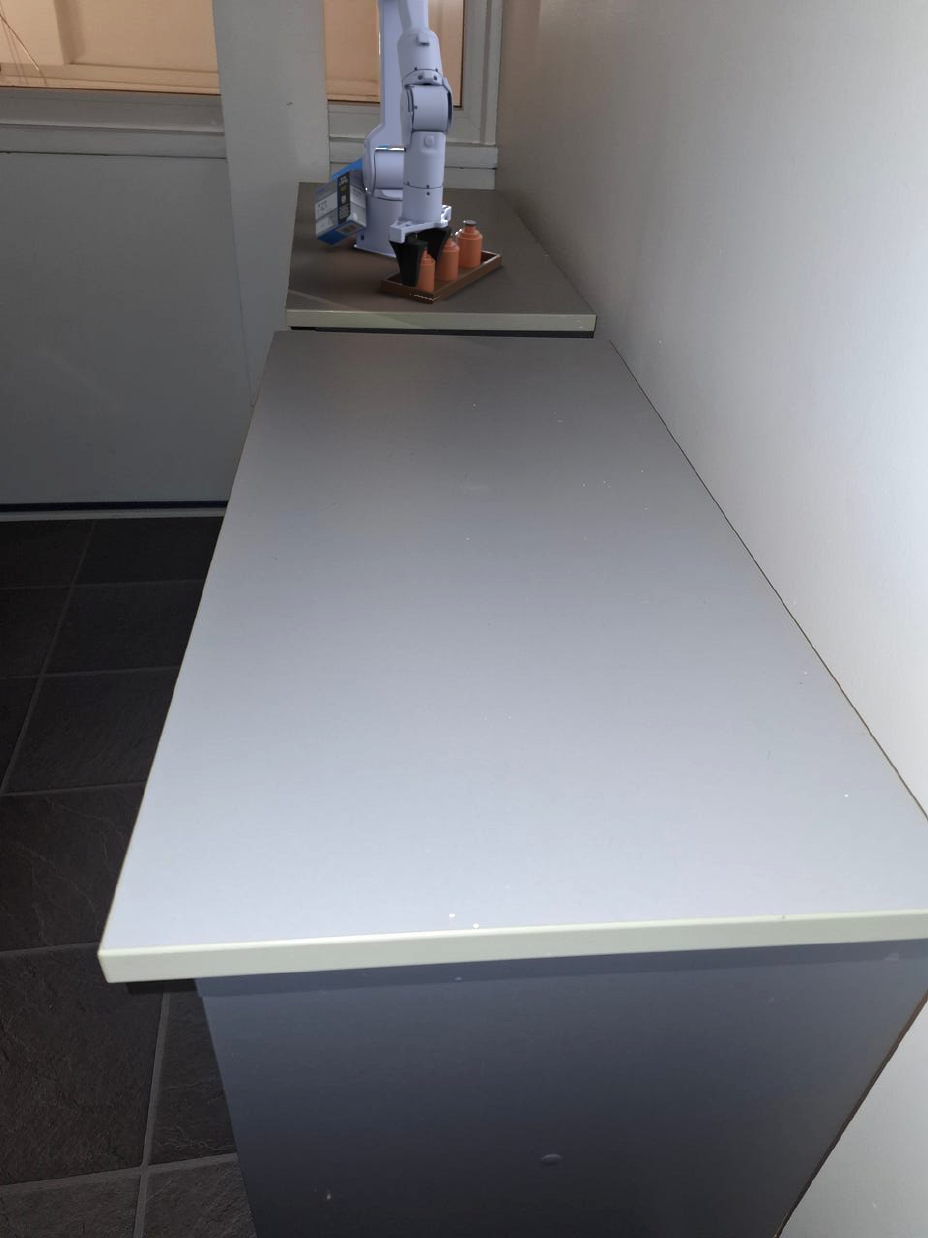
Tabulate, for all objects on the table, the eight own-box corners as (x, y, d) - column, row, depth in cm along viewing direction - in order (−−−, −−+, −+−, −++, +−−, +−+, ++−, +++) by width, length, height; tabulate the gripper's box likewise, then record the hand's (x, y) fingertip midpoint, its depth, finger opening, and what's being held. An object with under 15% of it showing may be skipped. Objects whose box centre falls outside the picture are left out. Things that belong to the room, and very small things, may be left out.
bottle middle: (424, 276, 136) (426, 233, 131) (438, 269, 139) (440, 227, 134) (449, 283, 134) (451, 239, 130) (462, 275, 137) (465, 233, 133)
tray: (432, 307, 127) (433, 293, 126) (380, 292, 130) (380, 279, 129) (501, 267, 143) (502, 254, 142) (453, 254, 146) (453, 242, 145)
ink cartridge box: (314, 238, 142) (312, 166, 143) (332, 246, 145) (330, 175, 146) (350, 219, 136) (348, 144, 137) (368, 228, 139) (366, 154, 140)
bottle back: (449, 263, 141) (451, 222, 137) (461, 257, 144) (464, 216, 140) (472, 269, 140) (476, 227, 135) (484, 262, 143) (488, 221, 139)
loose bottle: (399, 290, 130) (400, 246, 126) (414, 282, 133) (415, 239, 129) (424, 297, 128) (426, 252, 124) (438, 289, 132) (441, 245, 127)
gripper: (421, 199, 115) (417, 300, 124) (471, 178, 125) (464, 273, 134) (377, 188, 117) (376, 288, 126) (429, 169, 127) (425, 263, 136)
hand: (418, 280), depth 130 cm, fingers open, 5 cm apart
